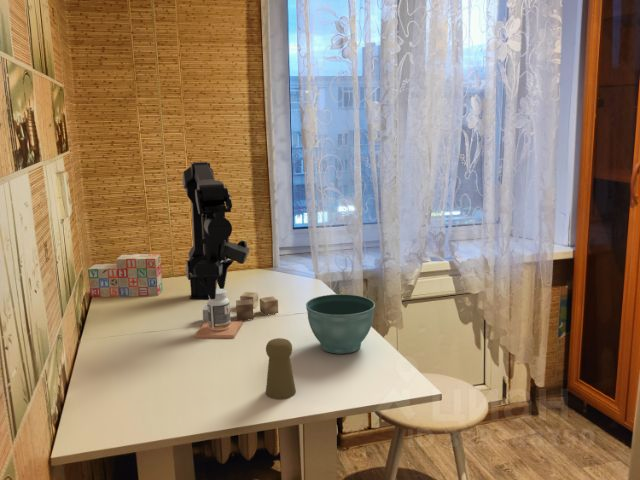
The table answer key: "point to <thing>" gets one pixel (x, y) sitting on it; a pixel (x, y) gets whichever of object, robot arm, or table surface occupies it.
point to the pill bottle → (219, 311)
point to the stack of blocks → (127, 277)
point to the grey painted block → (205, 314)
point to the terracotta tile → (228, 333)
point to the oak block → (268, 305)
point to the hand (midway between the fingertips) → (217, 293)
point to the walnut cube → (244, 309)
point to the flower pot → (340, 321)
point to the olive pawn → (279, 369)
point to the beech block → (250, 296)
